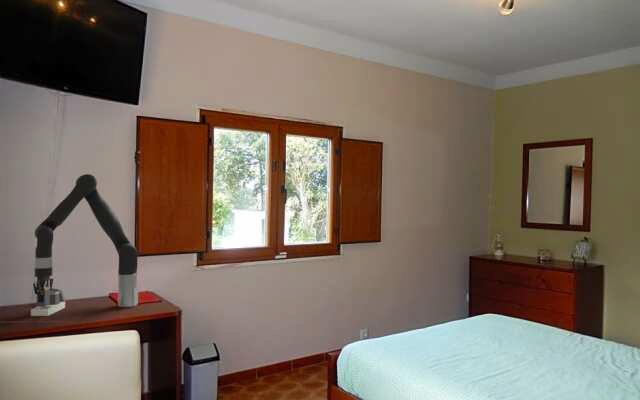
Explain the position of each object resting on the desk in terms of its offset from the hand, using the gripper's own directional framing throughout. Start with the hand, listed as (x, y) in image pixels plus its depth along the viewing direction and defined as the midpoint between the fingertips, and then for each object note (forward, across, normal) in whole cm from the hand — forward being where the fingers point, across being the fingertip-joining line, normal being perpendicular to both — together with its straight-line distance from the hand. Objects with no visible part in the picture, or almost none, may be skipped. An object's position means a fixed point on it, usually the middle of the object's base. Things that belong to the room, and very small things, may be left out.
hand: (43, 301), depth 221 cm
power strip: (+7, +4, 0) cm, 9 cm away
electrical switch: (+8, +22, +5) cm, 24 cm away
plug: (+2, 0, 0) cm, 2 cm away
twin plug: (+6, +9, 0) cm, 11 cm away
